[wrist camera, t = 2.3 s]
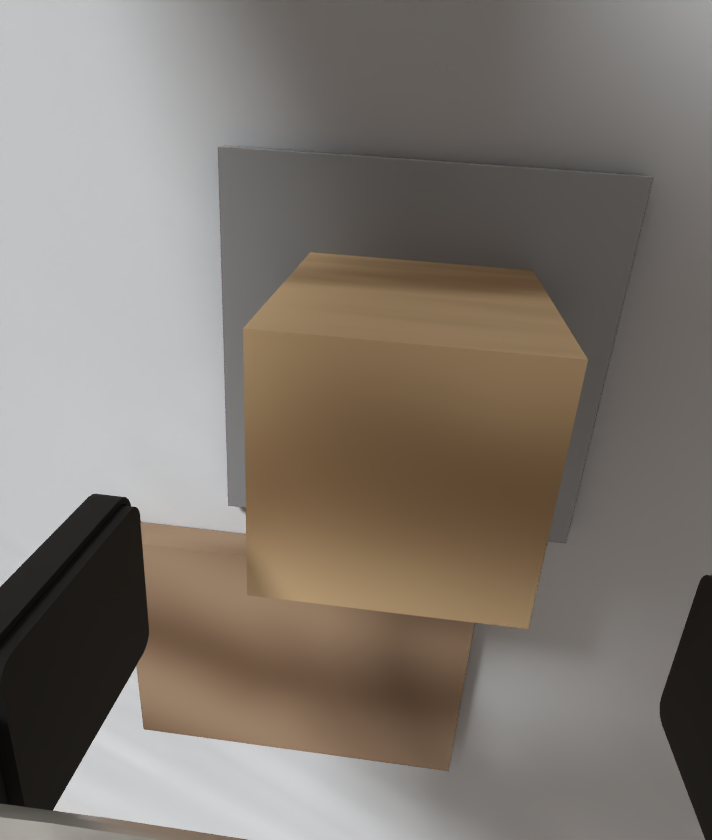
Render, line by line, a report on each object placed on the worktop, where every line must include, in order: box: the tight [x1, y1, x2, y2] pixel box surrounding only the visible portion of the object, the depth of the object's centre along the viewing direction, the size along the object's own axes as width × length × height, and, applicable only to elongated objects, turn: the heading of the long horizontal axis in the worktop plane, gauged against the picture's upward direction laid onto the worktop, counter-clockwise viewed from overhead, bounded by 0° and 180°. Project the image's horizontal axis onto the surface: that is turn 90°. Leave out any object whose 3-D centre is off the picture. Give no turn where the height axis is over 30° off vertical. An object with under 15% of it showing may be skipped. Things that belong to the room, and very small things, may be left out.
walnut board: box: [137, 522, 475, 771], centre depth 24 cm, size 9×12×1 cm
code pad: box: [218, 146, 653, 543], centre depth 19 cm, size 11×11×1 cm
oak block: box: [243, 252, 588, 629], centre depth 16 cm, size 6×6×7 cm
